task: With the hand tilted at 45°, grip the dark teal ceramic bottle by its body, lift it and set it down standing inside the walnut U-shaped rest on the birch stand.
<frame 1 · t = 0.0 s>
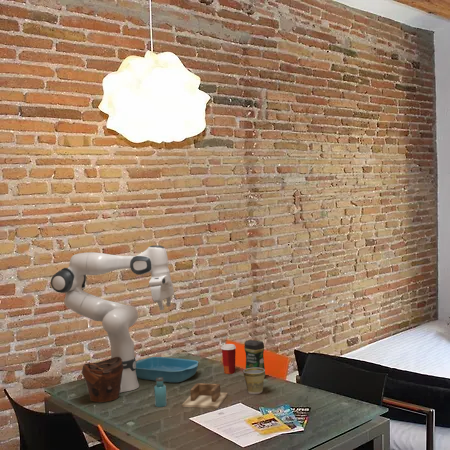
hand: (165, 308, 290), 39 cm above the table, tool pointing down, fingers open, 8 cm apart
paper cup: (229, 372, 315), on the table
teal bottle: (161, 405, 269), on the table
bottle stand: (205, 400, 273), on the table
ceramic cup: (256, 391, 283), on the table
coffee jar: (255, 378, 304), on the table
case: (104, 398, 283), on the table
casserole dish: (165, 377, 314), on the table
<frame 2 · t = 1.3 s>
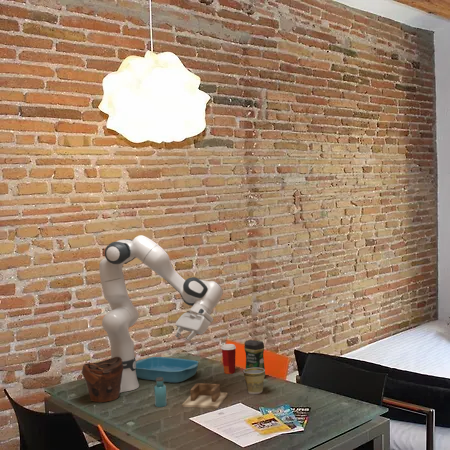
hand: (182, 338, 275), 27 cm above the table, tool tilted 45°, fingers open, 8 cm apart
nothing on the table moved.
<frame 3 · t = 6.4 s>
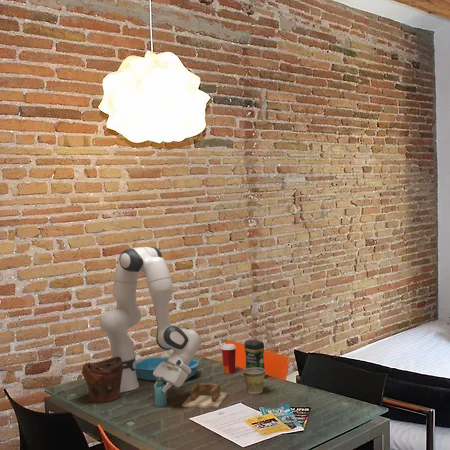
hand: (159, 389, 269), 7 cm above the table, tool tilted 45°, fingers closed on teal bottle, 5 cm apart
teal bottle: (161, 405, 269), on the table, touching gripper
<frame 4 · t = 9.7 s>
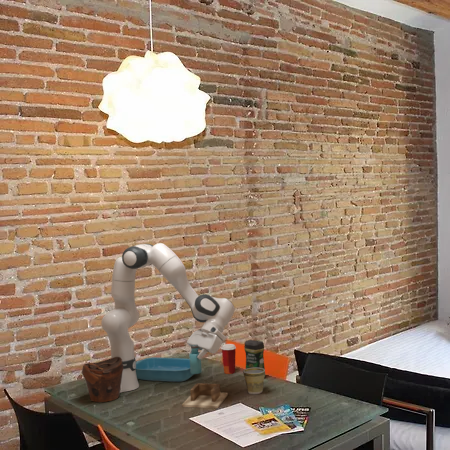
hand: (194, 357, 270), 20 cm above the table, tool tilted 45°, fingers closed on teal bottle, 5 cm apart
teal bottle: (196, 372, 271), point 13 cm above the table, touching gripper
when the fingers open (9 cm above the table, at t = 13.0 s): teal bottle drops 1 cm, resting on bottle stand.
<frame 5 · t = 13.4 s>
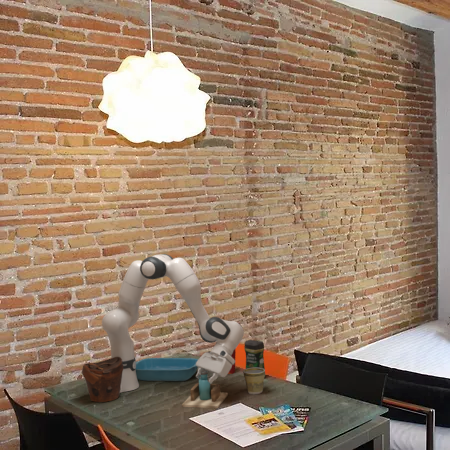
hand: (203, 380, 272), 9 cm above the table, tool tilted 45°, fingers open, 8 cm apart
teal bottle: (205, 398, 273), point 1 cm above the table, touching bottle stand
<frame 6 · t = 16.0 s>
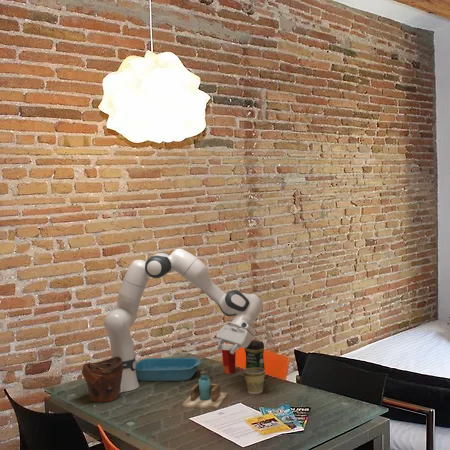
hand: (224, 351, 280), 20 cm above the table, tool tilted 45°, fingers open, 8 cm apart
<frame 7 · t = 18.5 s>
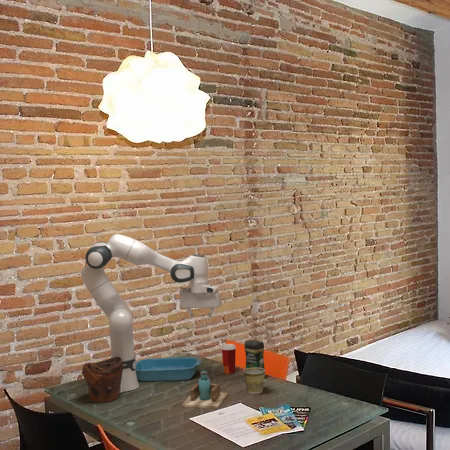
hand: (201, 316, 294), 33 cm above the table, tool pointing down, fingers open, 8 cm apart
at the end: teal bottle 0.1 cm off-centre on the bottle stand, point 1.0 cm above the bottle stand's base; teal bottle tilted 0°; the gripper is holding nothing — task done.
